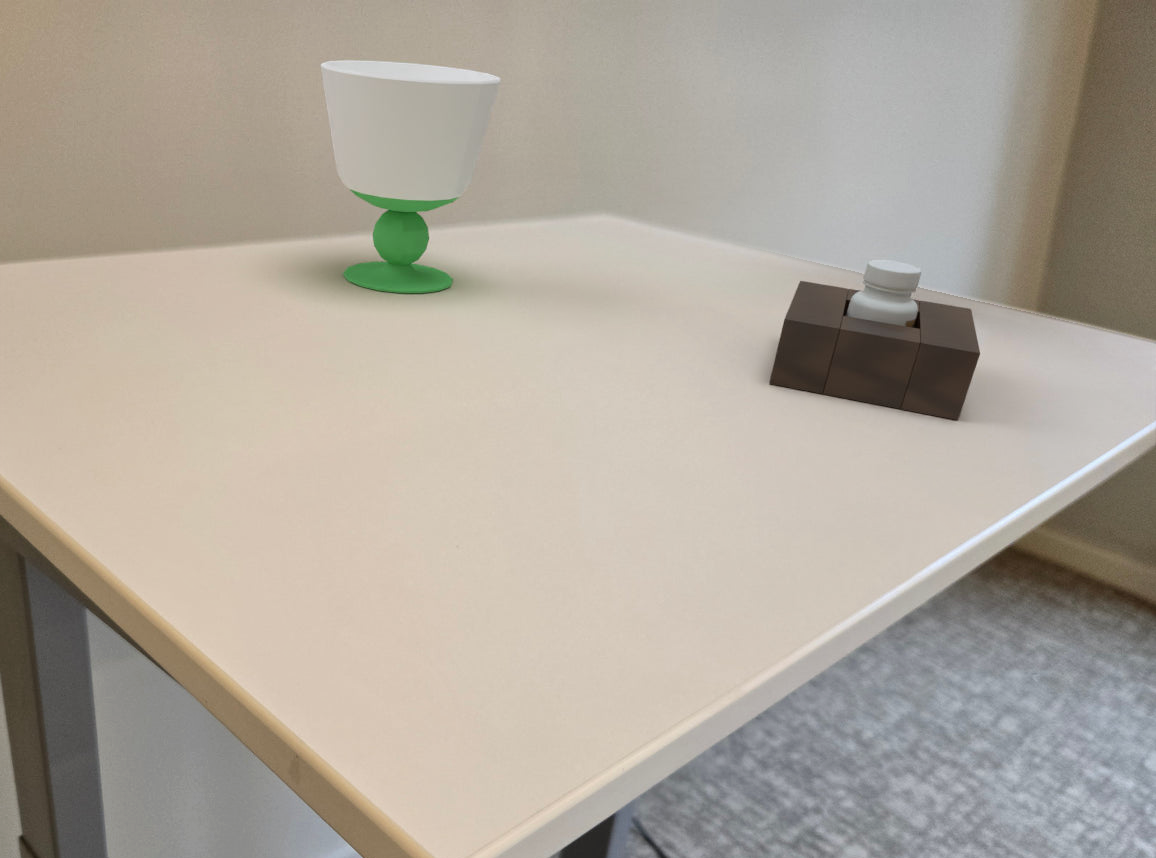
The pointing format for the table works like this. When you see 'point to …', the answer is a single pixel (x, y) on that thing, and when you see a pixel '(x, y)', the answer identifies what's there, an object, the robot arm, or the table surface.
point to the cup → (405, 154)
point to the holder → (877, 353)
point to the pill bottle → (887, 293)
